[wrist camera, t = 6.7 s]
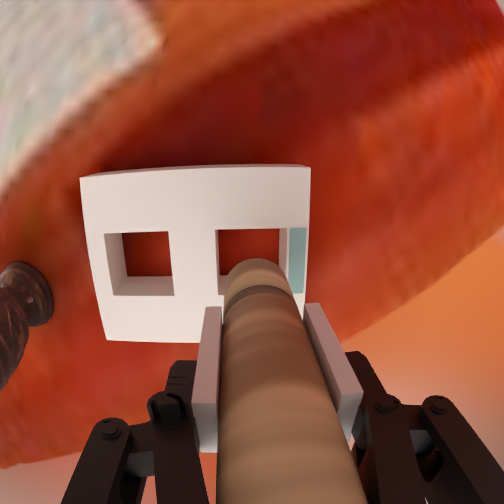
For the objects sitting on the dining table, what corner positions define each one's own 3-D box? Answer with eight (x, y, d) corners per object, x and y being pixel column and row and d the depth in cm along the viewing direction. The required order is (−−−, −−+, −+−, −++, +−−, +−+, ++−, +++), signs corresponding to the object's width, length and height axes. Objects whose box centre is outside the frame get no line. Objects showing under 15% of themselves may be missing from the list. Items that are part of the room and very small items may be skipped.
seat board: (99, 172, 25) (79, 177, 21) (299, 164, 26) (311, 167, 22) (119, 317, 29) (106, 340, 25) (293, 315, 30) (302, 339, 26)
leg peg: (223, 258, 20) (205, 602, 3) (288, 257, 20) (421, 567, 3) (226, 316, 21) (223, 615, 4) (286, 314, 21) (366, 597, 4)
